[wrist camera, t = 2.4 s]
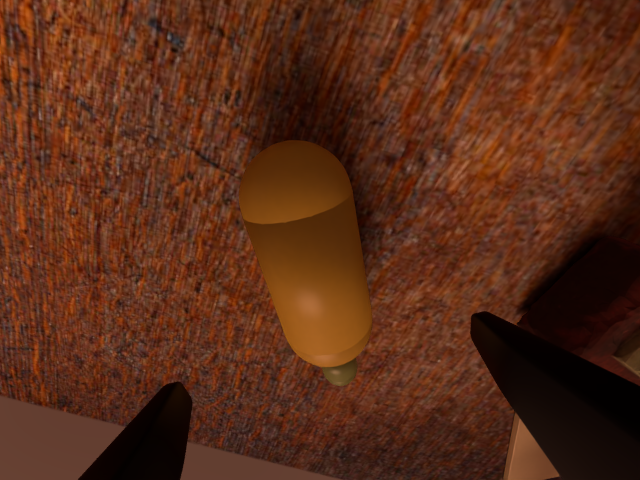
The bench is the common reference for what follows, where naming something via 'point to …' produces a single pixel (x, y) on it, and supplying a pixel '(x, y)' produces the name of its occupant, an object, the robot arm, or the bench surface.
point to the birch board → (526, 456)
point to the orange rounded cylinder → (310, 252)
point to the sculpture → (595, 308)
